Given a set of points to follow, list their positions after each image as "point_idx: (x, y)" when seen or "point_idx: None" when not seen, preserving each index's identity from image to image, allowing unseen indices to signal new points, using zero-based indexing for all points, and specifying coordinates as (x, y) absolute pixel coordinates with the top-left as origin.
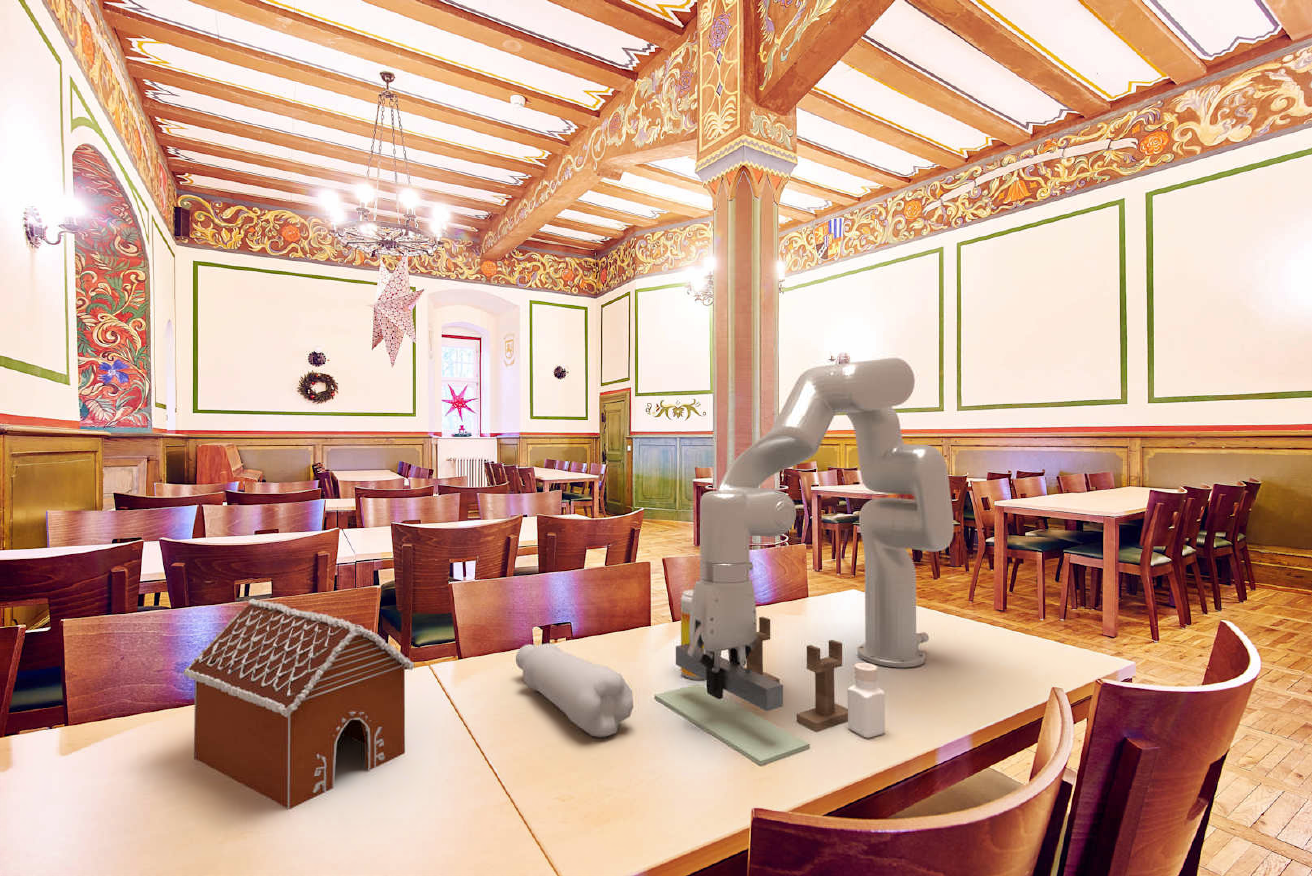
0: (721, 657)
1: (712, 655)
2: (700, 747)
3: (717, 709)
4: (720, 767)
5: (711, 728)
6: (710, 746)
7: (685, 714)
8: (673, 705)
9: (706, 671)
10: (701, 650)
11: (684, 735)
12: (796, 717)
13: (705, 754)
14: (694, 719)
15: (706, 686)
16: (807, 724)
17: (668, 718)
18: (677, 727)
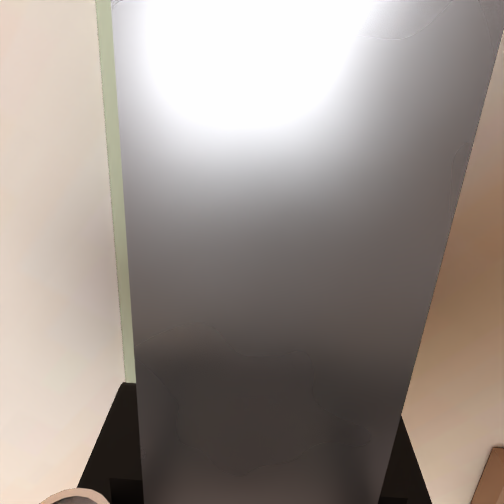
0: (375, 483)
1: (347, 380)
2: (34, 386)
3: None
4: (30, 490)
5: (133, 346)
6: (73, 399)
7: (108, 163)
8: (107, 8)
9: (78, 487)
10: (395, 109)
11: (22, 288)
12: (501, 461)
13: (26, 424)
14: (117, 238)
15: (118, 389)
16: (481, 497)
17: (31, 99)
18: (28, 212)
